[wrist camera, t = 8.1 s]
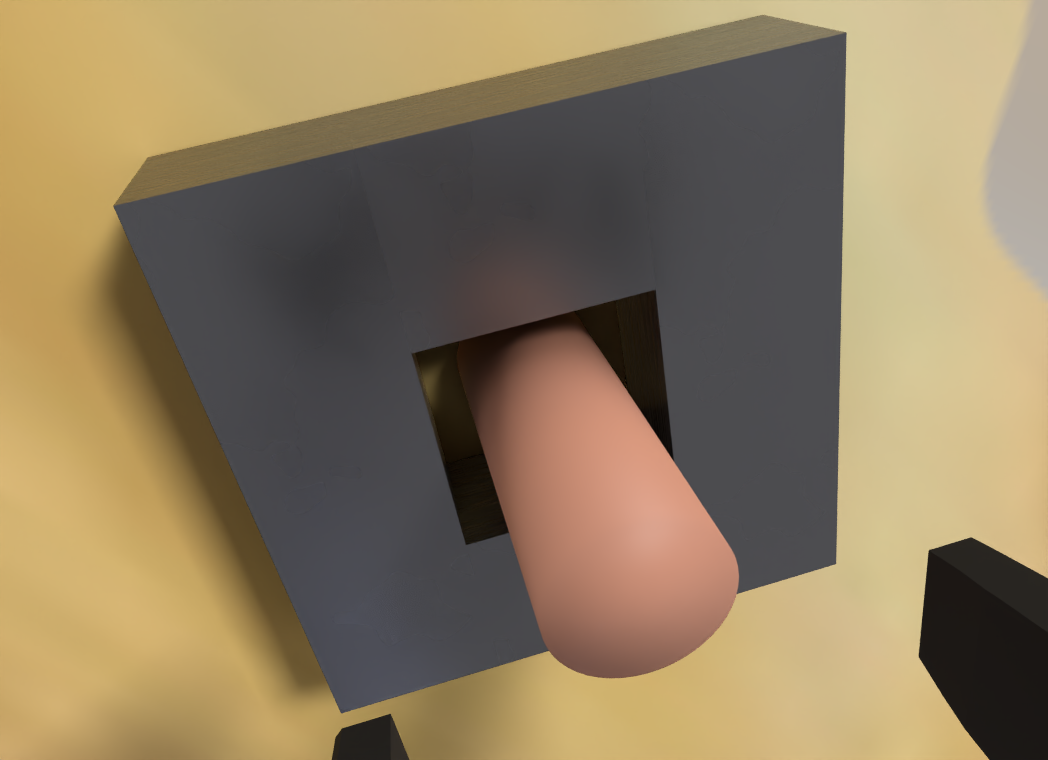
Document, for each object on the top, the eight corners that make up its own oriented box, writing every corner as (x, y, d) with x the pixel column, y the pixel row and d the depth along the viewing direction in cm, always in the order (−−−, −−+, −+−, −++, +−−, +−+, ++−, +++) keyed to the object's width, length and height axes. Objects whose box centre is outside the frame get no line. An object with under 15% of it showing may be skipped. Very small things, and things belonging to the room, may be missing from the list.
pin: (592, 395, 20) (740, 647, 13) (469, 424, 19) (552, 699, 13) (580, 279, 18) (738, 495, 11) (446, 309, 18) (525, 549, 11)
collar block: (776, 490, 22) (835, 563, 20) (338, 617, 21) (340, 713, 19) (763, 14, 16) (846, 32, 14) (147, 157, 15) (113, 205, 13)
